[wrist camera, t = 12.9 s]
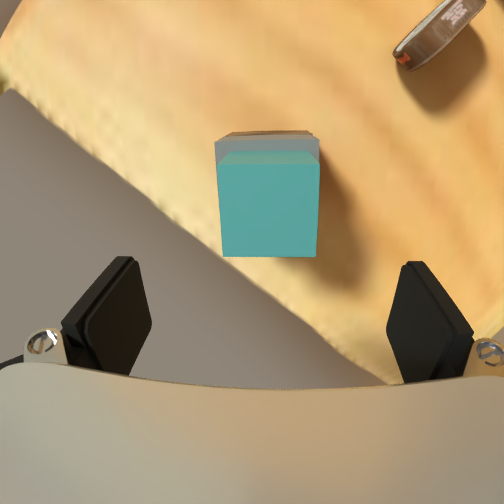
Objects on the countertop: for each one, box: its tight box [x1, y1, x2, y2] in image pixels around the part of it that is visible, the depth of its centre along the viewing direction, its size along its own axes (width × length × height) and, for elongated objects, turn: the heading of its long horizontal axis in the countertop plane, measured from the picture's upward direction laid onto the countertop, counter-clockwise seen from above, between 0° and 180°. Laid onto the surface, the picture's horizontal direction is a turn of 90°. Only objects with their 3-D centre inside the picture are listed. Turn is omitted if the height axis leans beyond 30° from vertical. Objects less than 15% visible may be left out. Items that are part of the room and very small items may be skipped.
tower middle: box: [214, 135, 319, 233], centre depth 27 cm, size 8×8×5 cm
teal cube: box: [217, 151, 320, 257], centre depth 22 cm, size 6×6×6 cm
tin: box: [393, 0, 486, 72], centre depth 20 cm, size 15×3×8 cm, turn 140°
